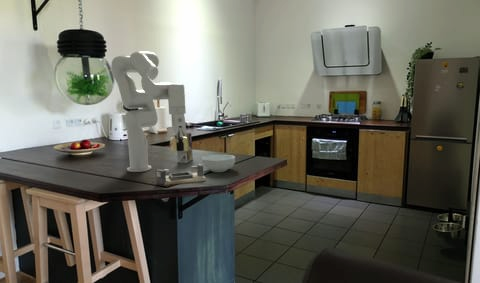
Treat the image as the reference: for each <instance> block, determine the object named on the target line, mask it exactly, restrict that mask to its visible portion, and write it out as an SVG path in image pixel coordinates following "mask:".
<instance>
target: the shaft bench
mask: <svg viewBox="0 0 480 283" xmlns="http://www.w3.org/2000/svg"><path fill="white" fill-rule="evenodd" d="M190 169H191V170H190V171H191V172H190V171H182V172H174V173H173V172H172V173H170V171H171V170H170V168H169V169H168V168H164V169H161V168H160V169H159V168H158V169H155V178H156V184H157V185H161V184H162V185H161V186H169V185H170V184H172V185H178V184H188V183H194V182H202V181H203V182H204V181H206V180H207V178H206V176H204V165H203V163H197V164H196V165H191V167H190ZM163 184H164V185H163Z"/></svg>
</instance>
